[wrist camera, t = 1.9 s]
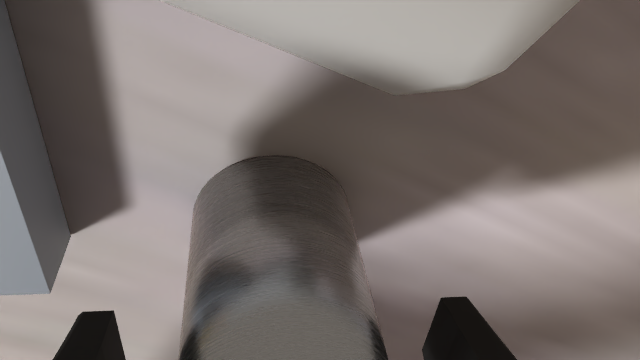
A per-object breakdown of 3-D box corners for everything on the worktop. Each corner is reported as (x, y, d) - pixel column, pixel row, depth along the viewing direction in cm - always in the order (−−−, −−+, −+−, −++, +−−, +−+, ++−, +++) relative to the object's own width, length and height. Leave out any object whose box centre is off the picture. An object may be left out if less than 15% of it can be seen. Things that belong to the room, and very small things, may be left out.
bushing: (339, 268, 16) (390, 515, 11) (197, 273, 16) (176, 539, 10) (357, 155, 14) (437, 408, 8) (187, 155, 13) (152, 430, 8)
